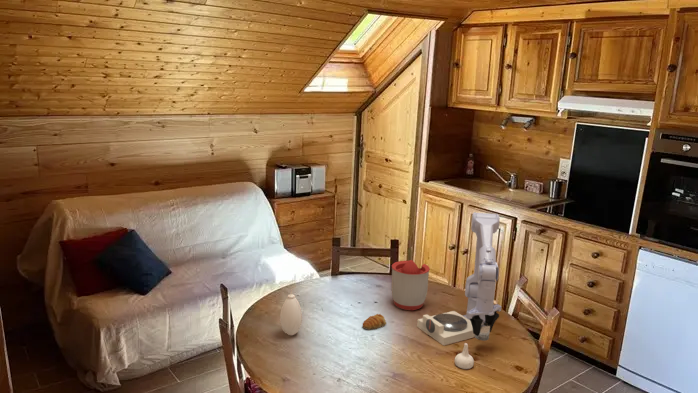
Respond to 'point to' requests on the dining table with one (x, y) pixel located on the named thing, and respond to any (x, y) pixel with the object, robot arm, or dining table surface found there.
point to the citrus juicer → (409, 284)
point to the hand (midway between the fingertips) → (481, 332)
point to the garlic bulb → (464, 359)
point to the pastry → (374, 322)
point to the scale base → (440, 334)
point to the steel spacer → (483, 331)
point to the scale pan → (451, 322)
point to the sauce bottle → (291, 315)
